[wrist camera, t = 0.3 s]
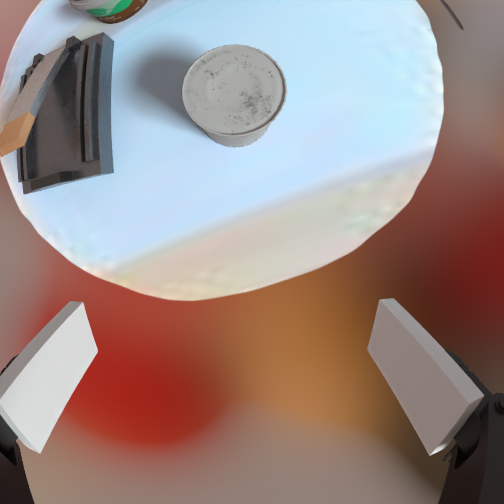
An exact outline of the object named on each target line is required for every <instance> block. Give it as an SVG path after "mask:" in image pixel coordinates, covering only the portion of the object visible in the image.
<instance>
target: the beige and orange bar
mask: <svg viewBox="0 0 504 504" xmlns="http://www.w3.org/2000/svg"><path fill="white" fill-rule="evenodd" d="M65 47H66V45H65V46H63V47H61V48H59V49H57V50H55V51H53V52H51V53H49V54H47V55H46V56H44V57H42V59H41V60H40V62H39V63H38V65H37V66H36V68H35V70H34V71H33V73H32V74H31V76H30V78H29V79H28V81H27V83H26V84H25V86H24V88H23V90H22V92H21V93H20V95H19V97H18V99H17V101H16V103H15V105H14V107H13V109H12V111H11V113H10V115H9V117H8V119H7V121H6V124H5V126H4V128H3V130H2V133H1V135H0V157H2V156H4V155H6V154H8V153H10V152H12V151H14V150H16V149H18V148H20V147H22V146H25V143H26V140H27V138H28V135H29V132H30V130H31V127H32V125H33V122H34V120H35V118H36V115H37V113H38V111H39V109H40V106H41V104H42V102H43V100H44V98H45V96H46V94H47V92H48V90H49V88H50V86H51V84H52V82H53V80H54V79H55V77H56V75H57V73H58V71H59V70H60V68H61V66H62V65H63V63H64V61H65V60H66V58H67V56H68V55H69V53H70V52H68V51H67V50H65Z"/></svg>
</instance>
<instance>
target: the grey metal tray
mask: <svg viewBox="0 0 504 504" xmlns="http://www.w3.org/2000/svg"><path fill="white" fill-rule="evenodd" d="M113 47H114V41H113V40H112V39H111V38H110V37H108V36H107V35H106V34H105V33H104V32H103V33H100V34H98V35H95V36H92V37H90V38H87V39H85V40H82V41H80V40H79V39H77V38H76V37H74V36H72V37H70V38H68V39H67V41H66V47H65V50H67V51H68V52H70V53H69V55H68V56H67V58H66V60H65V61H64V63H63V65H62V66H61V68H60V70H59V71H58V73H57V75H56V77H55V79H54V80H53V82H52V84H51V86H50V88H49V90H48V92H47V94H46V96H45V98H44V100H43V102H42V104H41V106H40V109H39V111H38V113H37V115H36V118H35V120H34V122H33V125H32V127H31V130H30V132H29V135H28V138H27V140H26V143H25V146H22V147H20V148H18V149H17V166H18V180H19V182H22V184H23V193H24V194H28V193H33V192H37V191H41V190H45V189H48V188H52V187H55V186H59V185H63V184H67V183H71V182H75V181H79V180H83V179H87V178H92V177H96V176H101V175H105V174H110V173H114V170H113V157H112V140H111V75H112V59H113ZM42 57H44V55H42V54H40V53H39V54H37V55H36V56H34V59H33V65H32V66H31V67H29V68H27V69H26V73H25V74H24V75H23V76H22V77H21V84H20V92H19V95H20V93H21V92H22V90H23V88H24V86H25V84H26V83H27V81H28V79H29V78H30V76H31V74H32V73H33V71H34V70H35V68H36V66H37V65H38V63H39V62H40V60H41V59H42Z"/></svg>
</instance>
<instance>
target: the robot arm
mask: <svg viewBox="0 0 504 504" xmlns="http://www.w3.org/2000/svg"><path fill="white" fill-rule="evenodd" d="M367 350H368V352H369V353H370V355H371V356H372V358H373V360H374V361H375V363H376V364H377V366H378V368H379V369H380V371H381V373H382V374H383V376H384V377H385V379H386V381H387V382H388V384H389V386H390V387H391V389H392V391H393V392H394V394H395V396H396V397H397V399H398V401H399V402H400V404H401V406H402V408H403V409H404V411H405V413H406V414H407V416H408V418H409V420H410V421H411V423H412V425H413V427H414V428H415V430H416V432H417V434H418V435H419V437H420V439H421V441H422V443H423V445H424V446H425V448H426V450H427V452H428V454H429V455H432V454H434V453H436V452H438V451H440V450H442V449H444V448H446V447H447V445H448V444H449V443H450V442H451V441H452V439H453V438H454V439H455V441H456V444H455V445H454V446H453V448H452V449H451V450H450V451H449V452H448V453H447V454H446V455H445V457H444V459H443V461H446V459H447V458H448V457H449V456H450V455H451V454H452V455H451V459H450V460H449V462H450V465H449V468H448V472H447V476H446V480H445V484H444V487H443V490H442V494H441V497H440V500H439V503H438V504H504V394H503V393H496V394H494V395H492V394H491V393H490V392H489V391H488V389H487V388H486V387H485V386H484V385H483V384H482V382H481V381H480V380H479V379H478V378H477V377H476V376H475V375H474V373H473V372H470V369H469V368H468V367H467V366H466V365H464V362H463V361H462V360H461V359H460V358H459V357H458V356H457V355H455V354H454V353H452V352H450V351H449V350H447V349H446V350H444V349H443V348H442V347H441V346H440V345H439V344H438V343H437V342H436V341H435V340H434V339H433V337H431V336H430V334H429V333H428V332H427V331H426V330H425V329H424V328H423V327H422V326H421V325H420V324H419V323H418V322H417V321H416V320H415V319H414V318H413V317H412V316H411V315H410V314H409V313H408V312H407V311H406V310H405V309H404V308H403V307H402V306H401V305H400V304H399V303H398V302H397V301H396V300H394V299H393V298H392V299H382V300H379V305H378V309H377V314H376V318H375V322H374V326H373V330H372V334H371V338H370V341H369V345H368V349H367ZM97 352H98V350H97V347H96V344H95V341H94V338H93V335H92V332H91V329H90V325H89V322H88V319H87V315H86V312H85V309H84V305H83V302H73V301H70V302H69V303H68V304H67V305H66V306H65V307H64V308H63V309H62V310H61V311H60V312H59V313H58V314H57V315H56V316H55V317H54V318H53V319H52V320H51V321H50V322H49V323H48V324H47V325H46V326H45V327H44V328H43V329H42V330H41V331H40V332H39V333H38V334H37V335H36V336H35V337H34V338H33V340H32V341H31V342H30V343H29V344H28V345H27V346H26V347H25V348H24V350H22V352H21V353H20V354H18V355H17V356H15V357H14V358H12V359H11V361H10V362H9V363H8V364H7V365H6V368H4V369H3V370H2V371H1V374H0V504H34V501H33V498H32V495H31V492H30V488H29V485H28V482H27V478H26V474H25V470H24V466H23V462H22V457H21V452H20V448H19V445H18V444H17V442H16V440H17V438H19V439H20V440H21V441H22V442H23V443H24V445H25V446H26V447H28V448H30V449H32V450H34V451H36V452H38V453H41V451H42V449H43V447H44V445H45V443H46V441H47V439H48V437H49V435H50V433H51V431H52V429H53V427H54V425H55V423H56V422H57V420H58V418H59V416H60V414H61V412H62V411H63V409H64V407H65V405H66V403H67V401H68V400H69V398H70V396H71V395H72V393H73V391H74V390H75V388H76V386H77V385H78V383H79V381H80V380H81V378H82V376H83V375H84V373H85V371H86V369H87V368H88V366H89V365H90V363H91V362H92V360H93V358H94V357H95V355H96V354H97Z"/></svg>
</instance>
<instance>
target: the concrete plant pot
mask: <svg viewBox="0 0 504 504" xmlns="http://www.w3.org/2000/svg"><path fill="white" fill-rule="evenodd" d="M286 94H287V85H286V79H285V77H284V74H283V71H282V70H281V68H280V67H279V65H278V64H277V62H276V61H275V60H273V59H272V58H271V57H270V56H269V55H268V54H266V53H264V52H263V51H261V50H259V49H256V48H253V47H250V46H245V45H225V46H221V47H218V48H214V49H212V50H210V51H208V52H206V53H204V54H203V55H202V56H200V57H199V58H198V59H197V60H195V62H194V63H193V64H192V65H191V67H190V68H189V69H188V71H187V73H186V75H185V77H184V80H183V85H182V100H183V103H184V107H185V109H186V111H187V113H188V114H189V116H190V117H191V119H192V120H193V121H194V122H195V123H196V124H197V125H199V126H200V127H201V128H202V129H203V130H204V131H205V133H206V134H207V135H208V136H209V137H210V138H211V139H212V140H213V141H215V142H217V143H218V144H221V145H224V146H227V147H243V146H246V145H250V144H252V143H253V142H255V141H257V140H258V139H259V138H261V137H262V136H263V135H264V133H265V132H266V131H267V129H268V127H269V125H270V124H271V122H273V121H274V120H275V119H276V117H277V116H278V115H279V113H280V112H281V110H282V108H283V106H284V103H285V101H286Z"/></svg>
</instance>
